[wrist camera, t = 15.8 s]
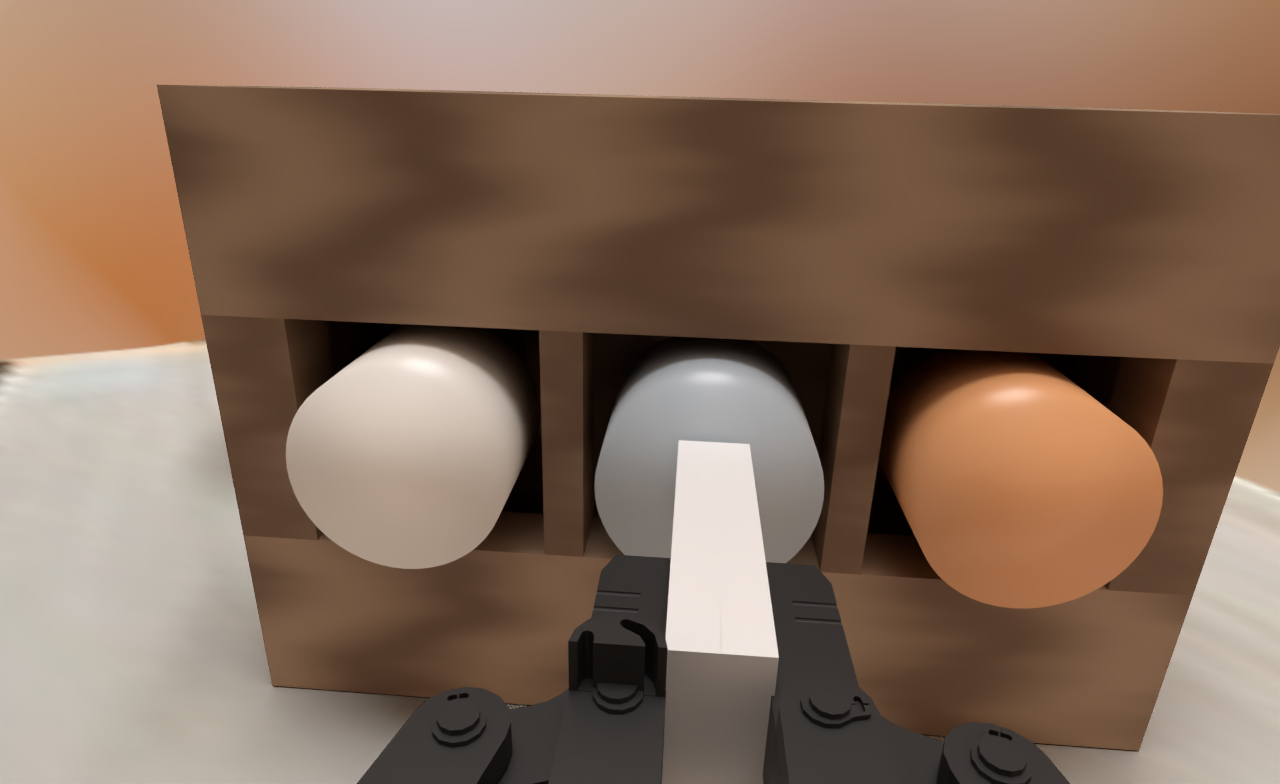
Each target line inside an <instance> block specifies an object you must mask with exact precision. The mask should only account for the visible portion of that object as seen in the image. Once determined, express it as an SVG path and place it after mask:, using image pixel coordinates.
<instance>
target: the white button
mask: <svg viewBox="0 0 1280 784" xmlns="http://www.w3.org/2000/svg"><path fill="white" fill-rule="evenodd" d="M539 423H540V404H539V397H538V393H537V389H536V386H535V384H534V381H533V378H532V376H531V374H530V373H529V371H528V369H527V367H526V351H525V348H524V345H523V343H522V341H521V339H520V338H519V336H518V335H517V334H516V333H515V332H514V331H513V330H512V329H500V328H478V327H456V326H434V325H412V324H405V325H403V326H401V327H399V328H397V329H395V330H394V331H392V332H391V333H389V334H388V335H386V336H385V337H384V338H383V339H381V340H380V341H379V342H377V343H376V344H375V345H374V346H372V347H371V348H370V349H368V350H367V351H366V352H364V353H363V354H362V355H361V356H359V357H358V358H357V359H355V360H354V361H353V362H351V363H350V364H349V365H348V366H346V367H345V368H344V369H342V370H341V371H340V372H338V373H337V374H336V375H335V376H333V377H332V378H331V379H329V380H328V381H327V382H325V383H324V384H323V385H322V386H320V387H319V388H318V389H317V390H315V391H314V392H313V393H312V394H311V395H310V396H309V397H308V398H307V399H306V400H305V401H304V403H303V404H302V405H301V406H300V408H299V409H298V411H297V413H296V415H295V416H294V418H293V421H292V423H291V426H290V429H289V432H288V437H287V442H286V465H287V471H288V475H289V480H290V483H291V486H292V488H293V491H294V494H295V496H296V498H297V499H298V501H299V503H300V505H301V507H302V508H303V510H304V511H305V513H306V514H307V516H308V517H309V518H310V519H311V521H312V522H313V523H314V524H315V525H316V526H317V528H318V529H320V530H321V531H322V532H323V533H324V534H325V535H326V536H327V537H328V538H329V539H331V540H332V541H333V542H335V543H336V544H337V545H339V546H340V547H342V548H343V549H345V550H347V551H348V552H350V553H352V554H354V555H356V556H358V557H360V558H362V559H365V560H368V561H370V562H373V563H376V564H380V565H384V566H388V567H394V568H402V569H422V568H431V567H436V566H440V565H444V564H447V563H450V562H452V561H455V560H457V559H459V558H461V557H463V556H465V555H466V554H468V553H469V552H471V551H472V550H473V549H475V548H476V547H477V546H478V545H479V544H480V543H481V542H482V541H483V540H484V539H485V538H486V537H487V536H488V534H489V533H490V532H491V530H492V529H493V527H494V525H495V523H496V521H497V520H498V518H499V516H500V513H501V511H502V509H503V507H504V505H505V503H506V501H507V499H508V497H509V495H510V492H511V490H512V488H513V486H514V484H515V482H516V480H517V478H518V476H519V474H520V471H521V469H522V467H523V465H524V463H525V461H526V459H527V457H528V455H529V453H530V450H531V448H532V446H533V444H534V442H535V439H536V436H537V433H538V428H539Z"/></svg>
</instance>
